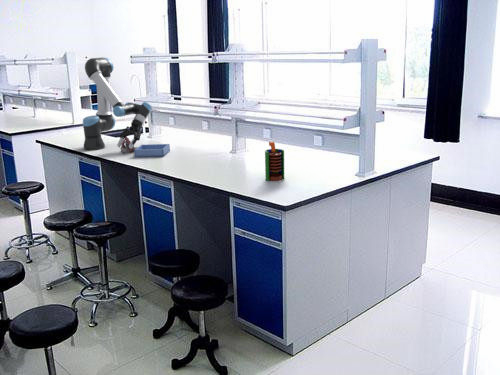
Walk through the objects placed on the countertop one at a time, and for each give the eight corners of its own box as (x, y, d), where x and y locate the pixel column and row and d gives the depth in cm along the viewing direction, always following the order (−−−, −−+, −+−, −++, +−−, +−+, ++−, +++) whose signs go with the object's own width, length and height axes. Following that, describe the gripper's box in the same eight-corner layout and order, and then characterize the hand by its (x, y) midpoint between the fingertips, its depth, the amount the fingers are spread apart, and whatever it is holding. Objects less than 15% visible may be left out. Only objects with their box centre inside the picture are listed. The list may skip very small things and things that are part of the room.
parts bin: (134, 157, 342) (133, 149, 340) (142, 151, 359) (141, 144, 357) (163, 156, 340) (163, 149, 338) (170, 151, 357) (169, 144, 356)
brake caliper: (114, 150, 355) (121, 134, 358) (124, 156, 364) (130, 142, 367) (126, 151, 349) (132, 135, 352) (136, 158, 358) (142, 143, 361)
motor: (272, 182, 268) (271, 145, 263) (261, 179, 275) (260, 142, 270) (286, 178, 274) (286, 142, 268) (276, 175, 281) (275, 140, 275)
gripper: (153, 125, 358) (139, 151, 351) (129, 124, 372) (116, 148, 364) (146, 119, 353) (132, 145, 345) (123, 117, 366) (109, 142, 358)
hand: (124, 147), depth 354 cm, fingers closed on brake caliper, 11 cm apart
